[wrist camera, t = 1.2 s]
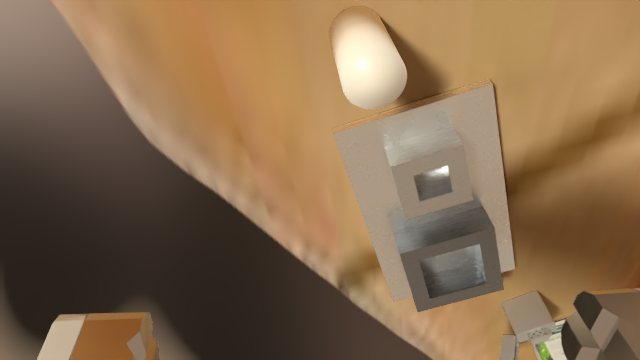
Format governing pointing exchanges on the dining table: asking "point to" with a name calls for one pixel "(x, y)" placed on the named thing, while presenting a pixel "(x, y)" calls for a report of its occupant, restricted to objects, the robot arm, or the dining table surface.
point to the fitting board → (433, 195)
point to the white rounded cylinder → (366, 59)
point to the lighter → (526, 323)
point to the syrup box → (551, 346)
